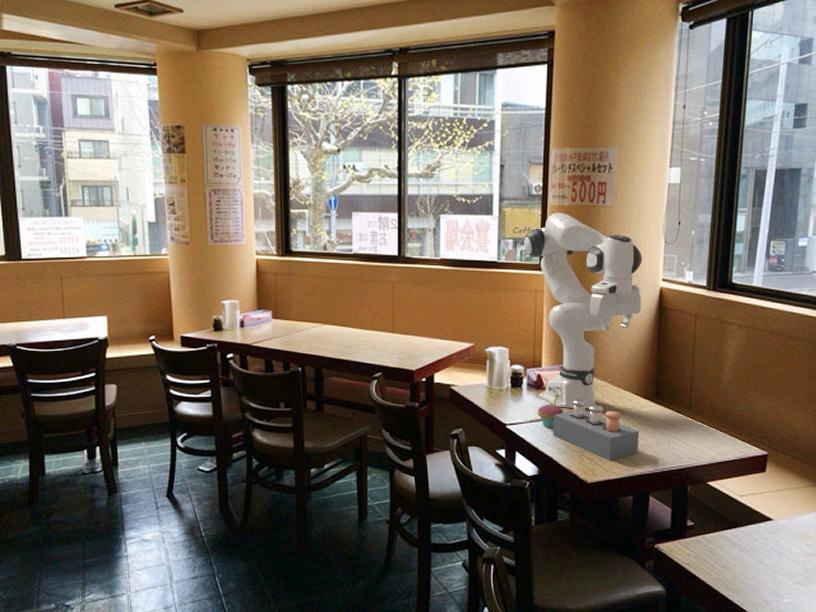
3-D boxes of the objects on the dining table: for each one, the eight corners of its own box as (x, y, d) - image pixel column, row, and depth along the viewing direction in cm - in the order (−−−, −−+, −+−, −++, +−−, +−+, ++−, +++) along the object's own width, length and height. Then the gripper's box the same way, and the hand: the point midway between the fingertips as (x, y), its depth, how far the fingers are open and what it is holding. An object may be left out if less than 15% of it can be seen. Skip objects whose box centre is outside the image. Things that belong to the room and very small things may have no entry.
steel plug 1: (568, 423, 209) (570, 400, 208) (578, 421, 211) (579, 398, 210) (578, 427, 205) (579, 403, 204) (587, 425, 207) (589, 402, 206)
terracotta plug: (601, 436, 197) (603, 412, 196) (611, 434, 199) (612, 410, 198) (612, 441, 193) (613, 416, 192) (621, 438, 195) (623, 414, 194)
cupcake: (555, 420, 225) (557, 387, 223) (567, 428, 217) (569, 394, 215) (533, 422, 223) (534, 388, 221) (544, 430, 215) (545, 395, 213)
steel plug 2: (584, 430, 203) (586, 406, 202) (594, 427, 205) (595, 404, 204) (594, 434, 199) (596, 409, 198) (604, 431, 201) (605, 407, 200)
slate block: (553, 435, 210) (554, 414, 209) (579, 429, 216) (581, 409, 215) (609, 460, 190) (610, 437, 189) (637, 453, 196) (638, 431, 195)
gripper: (631, 283, 214) (628, 324, 216) (587, 287, 203) (585, 329, 205) (646, 285, 209) (644, 327, 211) (602, 289, 198) (600, 333, 200)
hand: (614, 328), depth 208 cm, fingers open, 8 cm apart
